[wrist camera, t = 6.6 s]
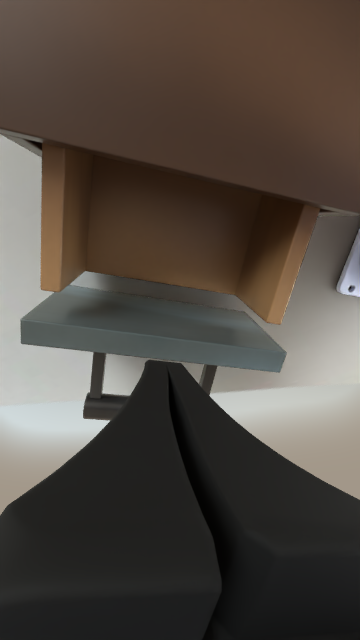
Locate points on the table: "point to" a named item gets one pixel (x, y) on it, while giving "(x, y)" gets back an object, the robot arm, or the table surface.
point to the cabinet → (193, 89)
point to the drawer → (161, 267)
